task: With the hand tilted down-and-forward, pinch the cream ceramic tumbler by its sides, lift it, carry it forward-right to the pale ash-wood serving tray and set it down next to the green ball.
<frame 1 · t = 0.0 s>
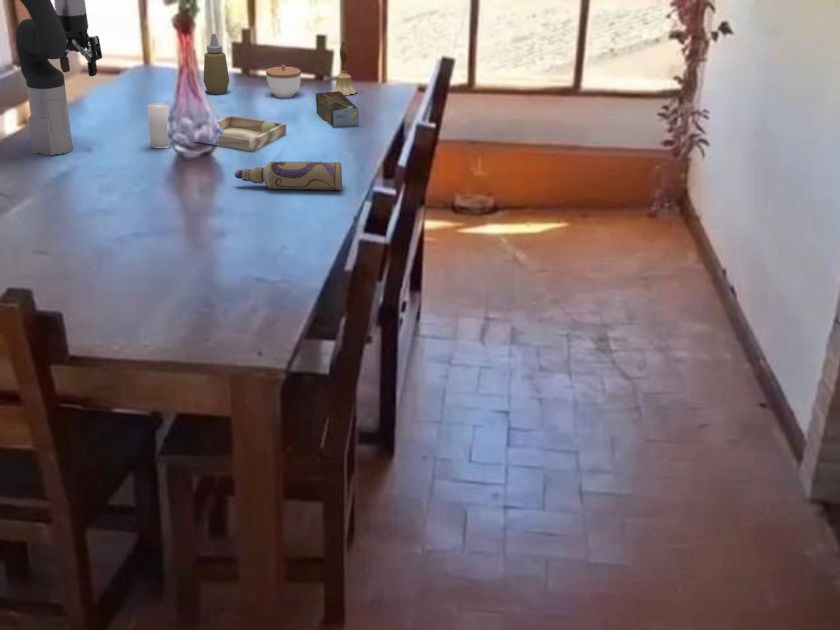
hand: (79, 73, 281), 17 cm above the table, tool pointing down, fingers open, 8 cm apart
green ball: (268, 135, 292), point 1 cm above the table, touching tray
tumbler: (161, 145, 283), on the table
squeeze bottle: (217, 92, 334), on the table
decorative bottle: (293, 187, 257), on the table
tray: (241, 140, 289), on the table
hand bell: (344, 93, 338), on the table
beverage carton: (337, 121, 310), on the table
lidded jar: (284, 95, 333), on the table
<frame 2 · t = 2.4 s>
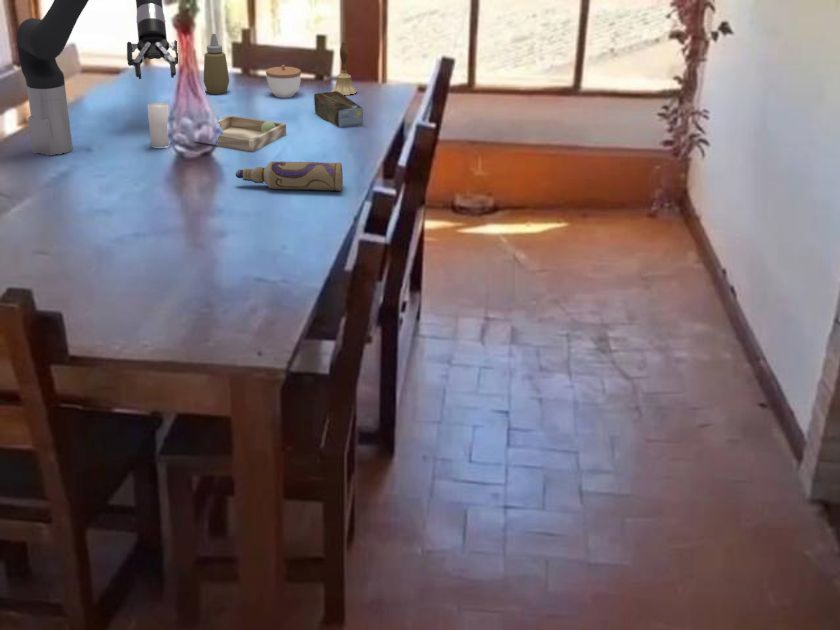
hand: (156, 76, 287), 15 cm above the table, tool tilted 45°, fingers open, 8 cm apart
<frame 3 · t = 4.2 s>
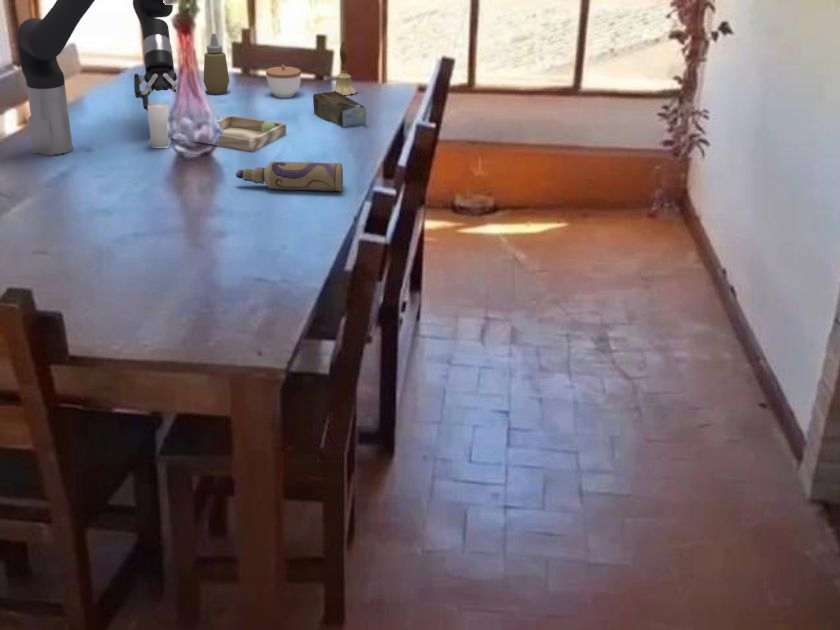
hand: (164, 108, 283), 9 cm above the table, tool tilted 45°, fingers open, 8 cm apart
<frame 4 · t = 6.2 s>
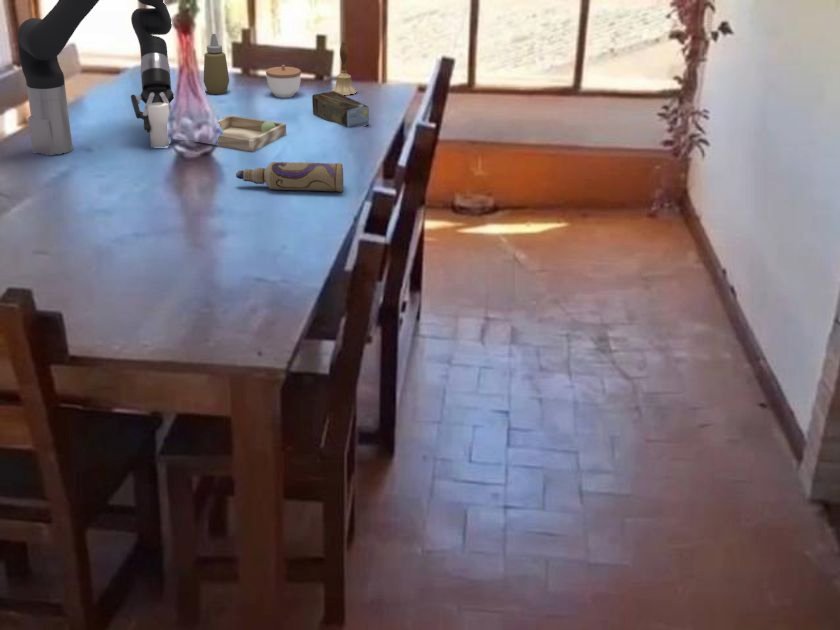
hand: (159, 130, 279), 5 cm above the table, tool tilted 45°, fingers closed on tumbler, 5 cm apart
tumbler: (161, 145, 283), on the table, touching gripper
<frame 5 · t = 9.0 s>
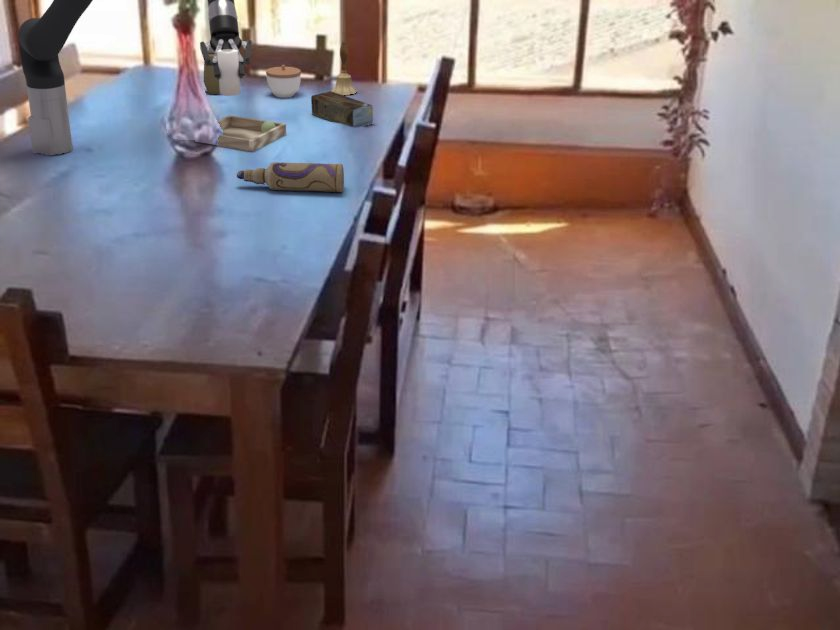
hand: (229, 77, 280), 18 cm above the table, tool tilted 45°, fingers closed on tumbler, 5 cm apart
tumbler: (230, 92, 284), point 13 cm above the table, touching gripper
when the fingers open (7 cm above the table, at t = 11.7 s): tumbler drops 2 cm, resting on tray.
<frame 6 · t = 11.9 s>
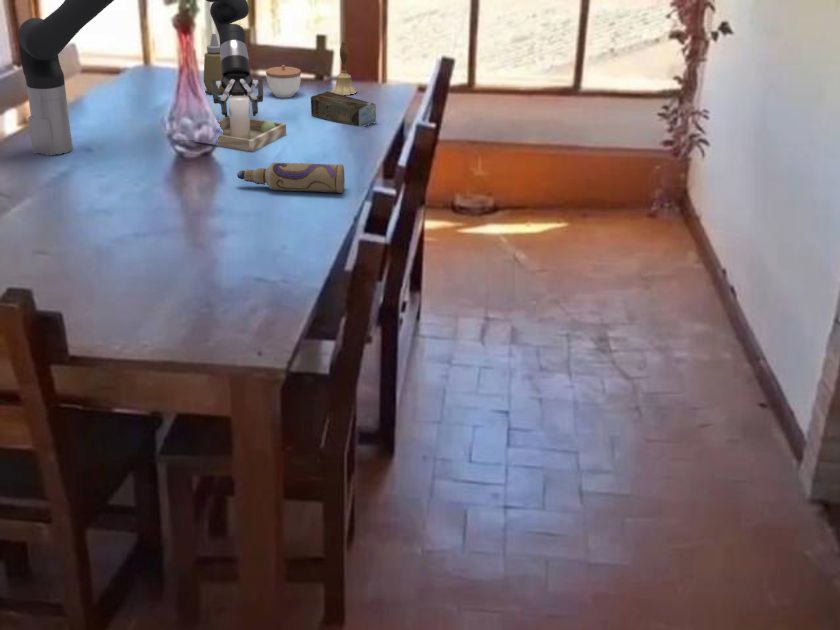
hand: (240, 115, 285), 7 cm above the table, tool tilted 45°, fingers open, 7 cm apart
tumbler: (240, 137, 289), point 1 cm above the table, touching tray
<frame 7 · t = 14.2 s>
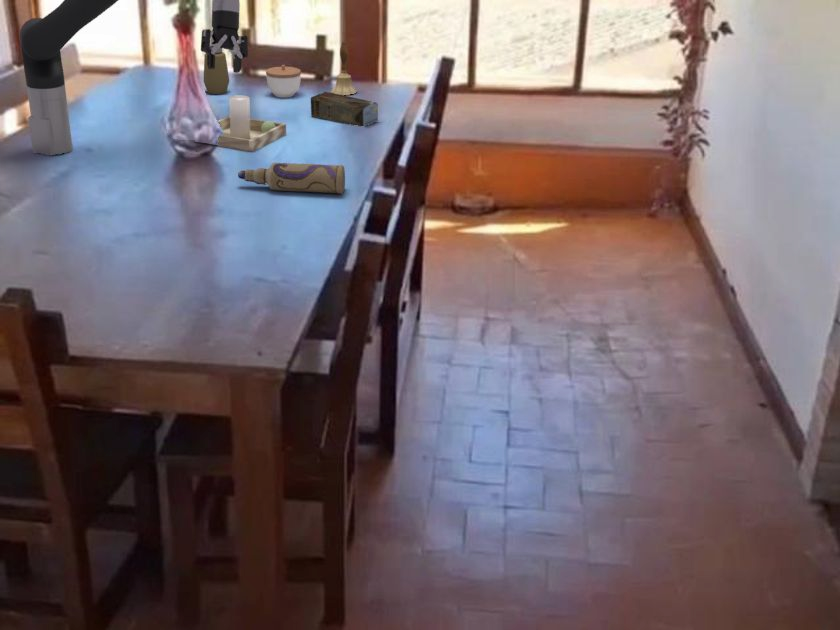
hand: (224, 70, 297), 15 cm above the table, tool tilted 20°, fingers open, 8 cm apart
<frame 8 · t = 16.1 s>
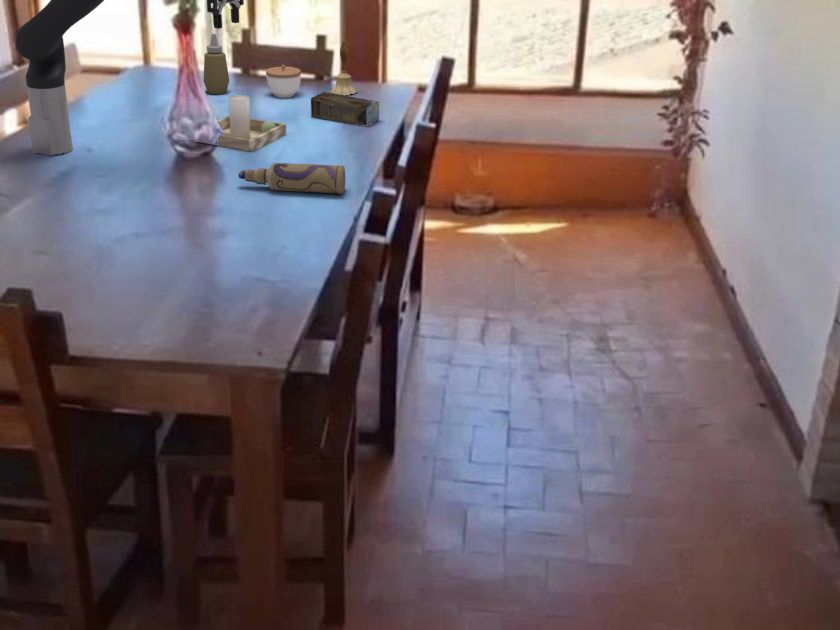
hand: (226, 25, 288), 28 cm above the table, tool pointing down, fingers open, 8 cm apart
at the end: tumbler inside the target area on the tray (0.2 cm from its centre), point 0.7 cm above the tray's base; tumbler tilted 1°; the gripper is holding nothing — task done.
